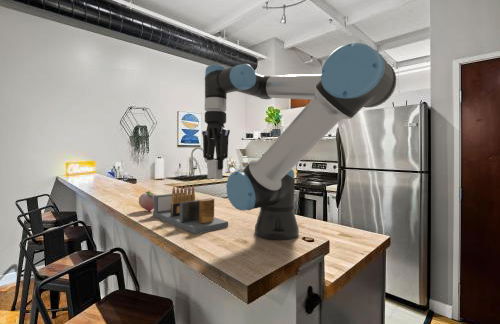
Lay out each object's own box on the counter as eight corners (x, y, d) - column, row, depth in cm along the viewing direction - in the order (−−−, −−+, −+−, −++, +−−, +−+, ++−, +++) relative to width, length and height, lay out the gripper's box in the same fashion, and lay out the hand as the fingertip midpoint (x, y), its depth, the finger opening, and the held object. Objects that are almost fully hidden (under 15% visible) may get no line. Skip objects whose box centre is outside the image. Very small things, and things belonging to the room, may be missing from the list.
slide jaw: (223, 219, 100) (223, 198, 100) (190, 225, 90) (191, 202, 90) (210, 215, 106) (210, 195, 106) (179, 220, 97) (179, 199, 96)
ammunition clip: (172, 216, 104) (172, 186, 104) (170, 216, 105) (170, 186, 105) (195, 213, 111) (196, 185, 111) (193, 212, 113) (193, 184, 112)
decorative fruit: (135, 210, 123) (135, 189, 123) (152, 208, 129) (152, 188, 129) (143, 214, 116) (143, 192, 116) (160, 211, 122) (161, 190, 122)
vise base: (228, 226, 98) (228, 203, 98) (195, 234, 88) (195, 207, 88) (181, 211, 123) (182, 192, 123) (152, 215, 114) (152, 195, 114)
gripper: (239, 110, 88) (238, 179, 88) (210, 115, 100) (210, 176, 101) (221, 107, 83) (220, 181, 83) (193, 113, 95) (192, 177, 96)
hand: (214, 178), depth 92 cm, fingers open, 4 cm apart
